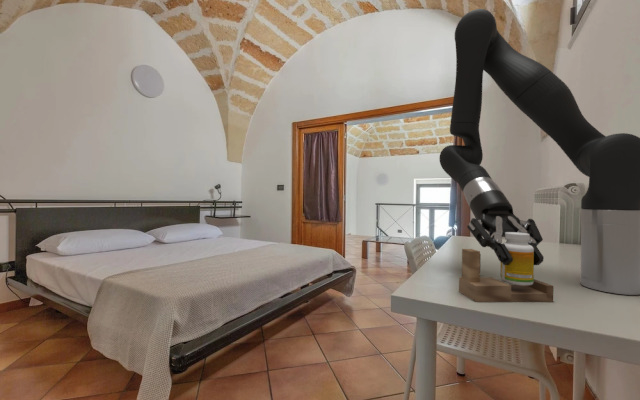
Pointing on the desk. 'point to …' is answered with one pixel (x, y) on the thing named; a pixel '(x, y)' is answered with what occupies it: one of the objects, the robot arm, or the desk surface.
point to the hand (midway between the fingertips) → (523, 262)
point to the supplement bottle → (518, 260)
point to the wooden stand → (497, 285)
